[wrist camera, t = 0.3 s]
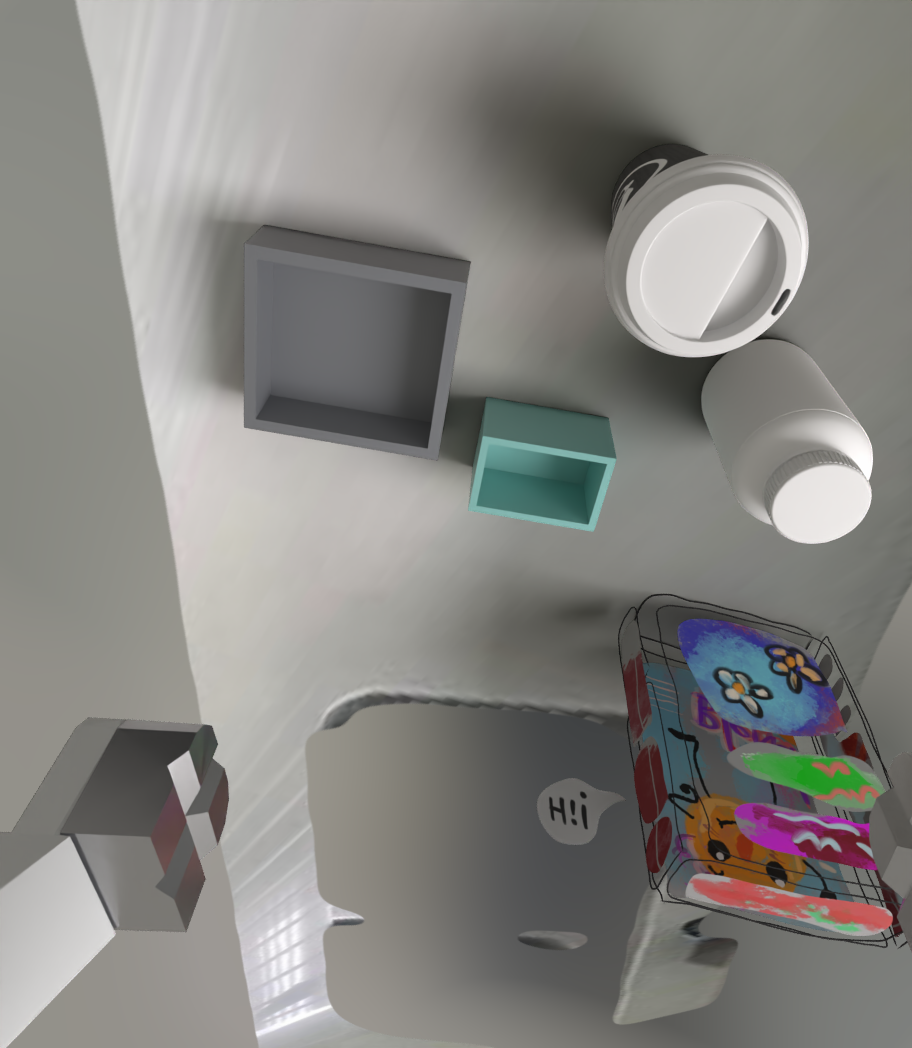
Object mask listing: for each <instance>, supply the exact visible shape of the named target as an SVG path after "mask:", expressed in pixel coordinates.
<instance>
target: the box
mask: <svg viewBox="0 0 912 1048" xmlns="http://www.w3.org/2000/svg"><path fill="white" fill-rule="evenodd" d="M658 595H671V594H657V595H651V596H650V597H652V596H658ZM671 596H675V595H671ZM650 597H648V598H647V599H649V598H650ZM675 597H678V596H675ZM678 598H681V597H678ZM647 599H646V600H647ZM681 599H683V598H681ZM646 600H645V601H646ZM683 600H686V599H683ZM645 601H644V602H645ZM686 601H689V602H695V601H690V600H686ZM644 602H643V603H642V605H643V604H644ZM695 603H702V604H708V603H703V602H695ZM642 605H641V606H642ZM708 605H712V604H708ZM641 606H640V608H641ZM667 606H675V605H667ZM667 606H662V607H660V608H659V609H661V608H663V607H667ZM712 606H716V605H712ZM675 607H683V606H675ZM716 607H719V606H716ZM632 608H635V607H631V608H630V610H631V609H632ZM640 608H639V610H640ZM683 608H691V609H700V608H692V607H683ZM719 608H723V607H719ZM659 609H658V610H657V612H658V611H659ZM723 609H726V610H731V609H727V608H723ZM630 610H629V611H630ZM635 610H636V617H637V623H636V621H635V620H636V617H635V620H633V621H632V622H631V623H630V624H629V625H628V626H627V628H626V630H625V632H624V635H623V638H622V644H621V655H622V662H621V655H620V646H619V635H620V630H621V627H622V624H623V622H624V619H625V618H626V616H627V615H628V613H629V611H628V613H627V614H626V616H625V617H624V619H623V621H622V624H621V627H620V629H619V635H618V646H619V655H620V662H621V668H622V666H623V668H622V674H623V681H624V687H625V693H626V700H627V708H628V715H629V716H628V721H630V727H631V733H632V739H633V745H634V746H636V744H637V743H638V745H639V754H638V758H637V761H636V765H635V768H634V781H635V788H636V794H637V799H638V803H639V813H640V821H641V827H642V833H643V840H644V847H645V853H646V861H647V867H648V873H649V882H650V887H651V889H653V890H655V889H657V890H658V891H659V893H660V895H661V899H662V901H663V897H662V894H661V892H660V890H659V889H658V887H659V885H660V883H661V882H662V880H663V878H664V876H665V875H666V873H667V879H668V880H667V894H668V895H669V896H670V897H671V898H673V899H675V900H678V901H682V902H686V903H682V902H671V901H664V902H668V903H677V904H687V905H691V906H695V907H699V908H703V909H706V910H710V911H715V912H718V913H723V914H726V915H730V916H734V917H738V918H742V919H745V920H749V921H752V922H756V923H759V924H763V925H766V926H769V927H773V928H777V929H781V930H785V931H789V932H793V933H797V934H801V935H807V936H812V937H818V938H822V939H829V940H838V941H846V942H851V943H856V944H863V945H870V946H878V947H882V948H886V947H887V946H888V943H887V940H888V939H890V938H892V937H893V940H894V942H895V944H896V941H895V939H894V936H895V937H896V936H897V937H898V935H900V934H902V933H903V930H902V928H901V925H900V923H899V921H898V918H897V915H898V912H899V909H900V906H901V904H902V901H903V898H902V897H901V896H900V895H899V894H897V893H896V892H895V891H894V890H893V889H892V888H891V887H890V886H888V885H887V884H886V883H885V882H884V881H883V880H882V879H881V877H880V874H879V871H878V869H877V866H876V864H875V861H874V859H873V854H872V850H871V845H870V841H869V816H870V814H871V811H872V808H873V805H874V803H875V800H876V798H877V797H878V796H880V795H882V794H883V793H885V790H884V788H883V786H882V784H881V782H880V780H879V779H878V777H877V776H876V774H875V772H874V770H873V767H872V763H871V761H870V758H869V756H868V753H867V751H866V749H865V747H864V744H863V740H862V737H861V735H860V734H859V733H853V734H852V735H850V736H849V737H848V738H847V739H845V740H843V741H842V742H838V741H837V739H836V738H835V736H834V734H833V733H836V736H837V735H838V734H839V733H840V731H841V730H842V731H844V732H846V733H847V730H846V727H845V725H846V723H847V722H848V720H849V718H850V715H851V710H850V707H849V706H845V707H844V708H843V709H842V710H841V712H840V710H839V707H838V705H837V702H836V701H837V700H838V699H839V697H840V695H841V693H842V690H843V679H844V681H845V683H846V685H847V687H848V689H849V686H848V684H847V682H846V680H845V678H844V676H843V674H842V672H841V670H840V668H839V666H838V664H837V662H836V660H835V657H834V655H833V653H832V652H831V650H830V649H829V647H828V646H827V645H826V644H825V643H823V641H824V640H825V638H826V637H827V638H828V636H826V637H825V638H824V639H823V640H822V641H820V640H818V639H816V638H814V637H811V636H807V635H803V634H798V633H795V632H791V631H788V630H785V629H782V628H779V627H776V626H772V625H768V624H763V623H759V622H753V621H749V620H745V619H741V618H737V617H734V616H730V615H727V614H723V613H719V612H715V611H711V610H706V609H700V610H706V611H711V612H715V613H718V614H722V615H726V616H730V617H734V618H737V619H741V620H745V621H749V622H753V623H758V624H763V625H767V626H771V627H775V628H779V629H782V630H785V631H788V632H791V633H794V634H798V635H802V636H807V637H811V638H814V639H816V640H818V641H820V642H821V644H820V647H821V645H822V643H823V644H824V645H825V646H826V647H827V648H828V649H829V650H830V652H831V654H832V656H833V658H834V660H835V662H836V664H837V666H838V669H839V671H840V673H841V674H842V676H843V678H840V679H839V680H838V681H837V682H836V684H835V685H834V687H833V688H832V689H831V687H830V685H829V683H828V681H827V679H828V678H829V676H830V674H831V672H832V659H831V657H830V655H829V654H826V655H825V656H824V657H823V659H822V660H821V662H820V664H819V667H818V665H817V663H816V662H815V658H816V656H817V654H818V652H819V649H820V647H819V649H818V651H817V654H816V656H815V658H813V656H812V655H811V654H810V653H809V652H808V651H807V649H808V647H809V645H810V643H811V642H810V643H809V645H808V646H807V648H806V649H804V648H803V647H801V646H799V645H797V644H794V643H792V642H790V641H787V640H785V639H783V638H780V637H778V636H776V635H773V634H770V633H768V632H765V631H761V630H758V629H754V628H750V627H747V626H743V625H740V624H736V623H732V622H727V621H720V620H709V619H690V620H686V621H684V622H682V623H681V624H680V625H679V627H678V631H677V635H678V641H679V645H680V648H681V649H680V648H677V647H674V646H672V645H669V644H666V643H662V641H661V632H660V627H659V622H658V615H657V612H656V616H657V623H658V627H659V632H660V642H659V641H656V640H653V639H649V638H646V637H643V636H640V631H639V625H638V616H637V615H638V612H639V610H638V612H637V609H636V608H635ZM731 611H736V612H742V611H737V610H731ZM742 613H745V614H749V613H746V612H742ZM749 615H752V614H749ZM752 616H755V615H752ZM755 617H758V616H755ZM758 618H760V619H763V618H761V617H758ZM763 620H766V619H763ZM766 621H769V620H766ZM769 622H772V621H769ZM772 623H776V624H782V623H777V622H772ZM782 625H787V624H782ZM787 626H791V625H787ZM791 627H795V626H791ZM795 628H797V629H800V628H798V627H795ZM800 630H802V629H800ZM802 631H804V630H802ZM804 632H806V633H808V632H807V631H804ZM808 634H810V633H808ZM810 635H811V634H810ZM641 637H642V638H646V639H649V640H653V641H656V642H659V643H661V646H662V649H663V645H662V644H666V645H669V646H672V647H674V648H677V649H680V650H681V651H682V653H683V656H684V658H685V660H686V662H687V663H684V662H680V661H677V660H673V659H670V658H666V656H665V653H664V649H663V653H664V657H663V656H660V655H657V654H654V653H651V652H649V651H646V650H644V648H643V644H642V640H641ZM640 641H641V645H642V648H643V649H642V648H641V647H640ZM811 641H812V640H811ZM828 641H829V638H828ZM829 643H830V644H831V642H830V641H829ZM831 646H832V644H831ZM832 648H833V646H832ZM641 649H642V650H643V652H644V655H645V651H646V652H648V653H651V654H654V655H657V656H660V657H663V658H665V661H666V664H667V660H666V659H670V660H673V661H677V662H680V663H684V664H688V666H689V668H690V670H691V671H689V670H685V669H681V668H677V667H673V666H668V664H667V665H664V664H659V663H648V661H647V658H646V655H645V658H646V661H647V663H643V662H642V655H641ZM833 650H834V648H833ZM834 653H835V655H836V652H835V650H834ZM836 657H837V655H836ZM837 659H838V657H837ZM838 661H839V659H838ZM839 663H840V661H839ZM840 666H841V668H842V670H843V672H844V669H843V667H842V665H841V663H840ZM844 674H845V672H844ZM845 676H846V674H845ZM846 678H847V676H846ZM847 680H848V678H847ZM848 683H849V685H850V687H851V689H852V686H851V684H850V682H849V680H848ZM852 691H853V689H852ZM849 692H850V694H851V696H852V698H853V695H852V693H851V691H850V689H849ZM853 693H854V691H853ZM854 696H855V698H856V700H857V702H858V704H859V701H858V699H857V697H856V695H855V693H854ZM853 701H854V703H855V705H856V707H857V704H856V702H855V700H854V698H853ZM859 706H860V704H859ZM860 708H861V706H860ZM857 710H858V712H859V714H860V716H861V713H860V711H859V709H858V707H857ZM861 711H862V713H863V710H862V708H861ZM863 715H864V717H865V719H866V716H865V714H864V713H863ZM861 719H862V721H863V718H862V716H861ZM628 721H627V732H628V738H629V731H628ZM866 721H867V719H866ZM867 723H868V721H867ZM863 724H864V727H865V729H866V726H865V723H864V721H863ZM868 726H869V728H870V725H869V723H868ZM870 731H871V734H872V737H873V740H874V743H875V746H876V749H877V751H876V749H875V747H874V745H873V743H872V741H871V738H870V736H869V734H868V731H867V729H866V732H867V734H868V737H869V739H870V742H871V744H872V746H873V748H874V750H875V752H876V754H877V756H878V758H879V760H880V762H881V764H882V767H883V770H884V773H885V776H886V778H887V781H888V783H889V786H890V789H891V785H890V782H889V780H888V777H889V776H888V777H887V775H888V774H887V775H886V773H887V770H886V769H885V767H884V765H883V763H882V761H881V758H880V754H879V751H878V748H877V745H876V742H875V739H874V736H873V733H872V730H871V728H870ZM641 736H643V744H642V746H641V749H640V744H639V739H640V738H641ZM793 736H811V738H812V741H813V744H814V740H813V737H812V736H815V738H816V736H820V739H821V742H822V746H823V749H824V752H825V754H826V757H825V756H824V755H823V753H822V750H821V748H820V746H819V743H818V740H817V738H816V741H817V743H818V746H819V748H820V751H821V753H822V755H823V756H821V755H818V752H817V750H816V747H815V744H814V747H815V750H816V753H817V755H816V754H808V753H800V752H799V751H798V748H797V745H796V743H795V740H794V737H793ZM629 745H630V738H629ZM630 752H631V745H630ZM877 752H878V753H877ZM631 757H632V752H631ZM632 762H633V757H632ZM633 767H634V762H633ZM885 771H886V772H885ZM889 779H890V778H889ZM890 781H891V780H890ZM891 784H892V782H891ZM892 786H893V785H892ZM813 797H815V798H817V799H820V800H822V801H824V802H827V803H829V804H831V805H833V806H835V808H836V807H837V808H839V809H842V810H843V811H844V814H845V817H846V819H847V816H846V813H845V810H846V811H849V813H850V816H851V818H852V820H853V822H851V821H848V819H847V820H845V819H841V818H840V817H839V814H838V811H837V808H836V811H837V814H838V817H839V818H837V817H832V816H827V815H821V814H818V813H817V810H816V807H815V804H814V801H813ZM619 801H626V800H625V799H624V798H623V797H622V796H620V795H619V794H616V793H613V792H606V791H600V790H597V789H595V788H593V787H591V786H590V785H588V784H587V783H584V782H583V781H581V780H579V779H575V778H570V779H566V780H562V781H560V782H557V783H554V784H552V785H551V786H549V787H548V788H546V789H545V790H544V791H543V792H542V793H541V794H540V796H539V798H538V801H537V811H538V815H539V819H540V821H541V823H542V825H543V827H544V828H545V830H546V831H547V832H548V833H549V834H550V835H551V836H552V837H553V838H554V839H555V840H556V841H558V842H561V843H565V844H571V845H580V844H586V843H588V842H590V841H591V839H592V838H593V837H594V836H595V835H596V831H597V826H598V820H599V817H600V815H601V813H602V812H603V811H604V810H605V809H607V808H608V807H609V806H611V805H612V804H614V803H616V802H619ZM641 814H642V817H643V820H644V822H645V823H651V822H652V823H653V821H654V820H655V822H656V825H655V826H654V823H653V829H652V831H651V833H650V836H649V839H648V843H647V849H646V846H645V838H644V832H643V826H642V820H641ZM664 861H665V865H666V870H667V871H666V872H665V874H664V875H663V877H662V879H661V880H660V882H659V884H658V886H657V885H656V883H655V881H654V877H653V873H657V872H659V871H660V869H661V867H662V866H663V864H664ZM838 863H840V864H844V865H849V866H853V868H854V871H855V873H856V870H855V867H857V868H862V869H866V872H867V874H868V876H869V873H868V871H867V869H869V870H875V873H876V875H877V878H878V881H879V884H880V887H879V886H874V884H873V882H872V880H871V878H870V876H869V878H870V881H871V882H872V884H873V885H867V884H861V883H860V882H859V879H858V876H857V873H856V877H857V879H858V882H859V883H855V882H849V881H844V879H843V877H842V874H841V871H840V868H839V865H838ZM649 870H650V871H651V872H652V879H653V882H654V884H655V886H656V888H652V885H651V880H650V872H649ZM845 882H846V883H852V884H858V885H860V887H861V885H864V886H870V887H874V888H875V887H876V888H881V890H882V894H883V897H884V900H881V899H880V896H879V894H878V892H877V890H876V888H875V890H876V892H877V895H878V897H879V899H874V898H869V897H866V896H865V894H864V891H863V889H862V887H861V890H862V892H863V895H864V896H858V895H852V894H850V892H849V890H848V888H847V886H846V883H845ZM668 891H669V892H668ZM669 893H671V894H672V895H673V896H674V897H676V898H674V897H672V895H670V894H669ZM852 896H855V897H861V898H865V899H866V901H867V903H868V900H867V899H871V900H876V901H880V902H881V905H882V902H885V904H886V907H887V909H885V908H884V907H883V905H882V907H878V906H873V905H869V903H868V904H861V903H856V902H854V900H853V898H852ZM677 898H692V899H695V900H699V901H703V902H708V903H713V904H717V905H721V906H726V907H730V908H733V909H737V910H740V911H744V912H747V913H751V914H755V915H759V916H763V917H766V918H770V919H773V920H776V921H780V922H785V923H788V924H792V925H797V926H801V927H806V928H811V929H816V930H822V931H832V932H840V933H843V934H848V935H855V936H868V935H873V934H877V933H880V932H881V933H882V931H884V930H885V929H887V928H888V927H889V929H890V932H891V934H892V936H890V937H889V938H887V939H886V938H885V936H884V934H883V933H882V935H883V937H884V938H885V939H884V940H851V939H834V938H827V937H821V936H815V935H811V934H808V933H805V932H801V931H798V930H794V929H791V928H787V927H783V926H779V925H775V924H771V923H766V922H760V921H754V920H751V919H747V918H744V917H741V916H738V915H734V914H731V913H727V912H724V911H720V910H716V909H712V908H708V907H705V906H702V905H698V904H695V903H691V902H688V901H684V900H680V899H677ZM768 924H769V925H768ZM891 924H892V927H893V931H894V935H893V933H892V931H891V928H890V925H891ZM771 925H773V926H771ZM775 926H777V927H775ZM778 927H781V928H778ZM783 928H786V929H783ZM787 929H789V930H787ZM790 930H794V931H790ZM795 931H797V932H795ZM799 932H800V933H799ZM852 941H867V942H869V941H870V942H881V941H886V946H884V947H883V946H879V945H874V944H864V943H858V942H852ZM906 943H908V942H907V941H906V942H905V943H904V944H902V945H901V946H900V947H902V946H903V945H905V944H906ZM900 947H899V948H900Z"/></svg>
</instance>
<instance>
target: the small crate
mask: <svg viewBox="0 0 912 1048" xmlns="http://www.w3.org/2000/svg"><path fill="white" fill-rule="evenodd" d="M615 462H616V454H615V448H614V443H613V438H612V433H611V428H610V423H609V418H606V417H600V416H594V415H588V414H582V413H577V412H571V411H565V410H559V409H554V408H548V407H542V406H536V405H531V404H525V403H519V402H513V401H508V400H502V399H496V398H490V397H486V401H485V407H484V412H483V417H482V422H481V427H480V432H479V437H478V442H477V448H476V453H475V458H474V463H473V469H472V478H471V488H470V498H469V507H468V511H474V512H480V513H486V514H492V515H498V516H504V517H510V518H516V519H522V520H528V521H533V522H539V523H545V524H551V525H557V526H563V527H569V528H575V529H581V530H587V531H593V532H594V529H595V526H596V523H597V520H598V516H599V513H600V510H601V507H602V504H603V501H604V497H605V494H606V491H607V488H608V485H609V481H610V478H611V475H612V472H613V469H614V466H615Z"/></svg>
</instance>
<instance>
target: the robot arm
mask: <svg viewBox="0 0 912 1048" xmlns="http://www.w3.org/2000/svg"><path fill="white" fill-rule="evenodd" d="M217 745H218V743H217V740H216V737H215V734H214V731H213V728H212V726H210V725H204V724H189V723H174V722H161V721H145V720H131V719H127V720H126V719H109V718H108V719H107V718H90V717H89V718H87V719H86V720H84V721H83V722H82V723H81V724H79V725H78V726H77V727H76V728H75V730H74V731H73V733H72V735H71V736H70V738H69V739H68V741H67V743H66V744H65V746H64V748H63V749H62V751H61V752H60V754H59V756H58V757H57V759H56V761H55V762H54V764H53V765H52V767H51V769H50V770H49V772H48V773H47V775H46V777H45V778H44V780H43V782H42V783H41V785H40V786H39V788H38V790H37V791H36V793H35V795H34V796H33V798H32V799H31V801H30V803H29V804H28V806H27V808H26V809H25V811H24V812H23V814H22V816H21V817H20V819H19V821H18V822H17V824H16V826H15V827H14V829H13V831H12V832H0V1048H6V1047H7V1046H8V1045H9V1044H10V1043H11V1042H12V1041H13V1040H14V1039H15V1038H16V1037H17V1036H18V1035H19V1034H20V1033H21V1032H22V1031H23V1030H24V1029H25V1028H26V1027H27V1025H29V1023H30V1022H31V1021H32V1020H33V1019H34V1018H35V1017H36V1016H37V1015H38V1014H39V1013H40V1012H41V1011H42V1010H43V1009H44V1008H45V1007H46V1006H47V1005H48V1004H49V1003H50V1002H51V1001H52V1000H53V999H54V998H55V997H56V995H58V994H59V992H60V991H61V990H62V989H63V988H64V987H65V986H66V985H67V984H68V983H69V982H70V981H71V980H72V979H73V978H74V977H75V976H76V975H77V974H78V973H79V972H80V971H81V970H82V969H83V968H84V967H85V966H86V965H87V963H89V962H90V961H91V960H92V958H93V957H94V956H95V955H96V954H97V953H98V952H99V951H100V950H101V949H102V948H103V947H104V946H105V945H106V944H107V943H108V942H109V941H110V940H111V939H112V938H113V937H114V936H115V931H114V930H134V931H167V932H168V931H169V932H186V931H187V929H188V926H189V923H190V920H191V918H192V915H193V912H194V909H195V907H196V904H197V901H198V898H199V896H200V893H201V890H202V887H203V885H204V882H205V876H204V872H203V869H202V866H201V863H200V860H201V859H202V858H203V857H205V856H206V855H207V854H208V853H209V852H210V851H211V850H213V849H214V848H215V847H216V846H217V845H218V843H219V840H220V837H221V834H222V831H223V828H224V825H225V820H226V814H227V807H228V801H229V794H228V780H227V776H226V772H225V768H223V767H222V766H221V765H220V764H219V763H217V762H216V761H215V760H214V759H213V755H214V753H215V750H216V748H217ZM887 774H888V776H889V778H890V780H891V782H892V785H893V788H891V789H889V790H888V791H886V792H885V793H883V794H882V795H880V796H878V797H877V798H876V800H875V803H874V805H873V808H872V811H871V814H870V816H869V841H870V845H871V850H872V854H873V859H874V861H875V864H876V866H877V869H878V871H879V874H880V877H881V879H882V880H883V881H884V882H885V883H886V884H887V885H888V886H890V887H891V888H892V889H893V890H894V891H895V892H896V893H897V894H899V895H900V896H901V897H902V898H903V901H902V904H901V906H900V909H899V912H898V915H897V918H898V921H899V923H900V925H901V928H902V930H903V933H904V935H905V937H906V940H907V942H908V945H909V947H910V949H911V952H912V752H902V753H901V754H899V755H898V756H897V757H895V758H894V759H893V761H892V764H891V766H890V768H889V770H888V772H887Z"/></svg>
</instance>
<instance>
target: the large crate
mask: <svg viewBox="0 0 912 1048" xmlns="http://www.w3.org/2000/svg"><path fill="white" fill-rule="evenodd" d="M470 263H471V262H469V261H464V260H458V259H452V258H447V257H441V256H436V255H430V254H425V253H419V252H413V251H408V250H402V249H397V248H391V247H385V246H380V245H374V244H369V243H363V242H357V241H352V240H346V239H341V238H335V237H329V236H324V235H318V234H313V233H307V232H301V231H296V230H290V229H285V228H279V227H274V226H268V225H264V226H263V227H262V228H260V229H259V230H258V231H257V232H256V233H255V234H254V235H253V236H252V237H251V238H250V239H249V240H248V241H247V242H245V243H244V428H250V429H256V430H262V431H268V432H273V433H279V434H285V435H291V436H297V437H303V438H308V439H314V440H320V441H326V442H332V443H338V444H344V445H349V446H355V447H361V448H367V449H373V450H379V451H385V452H390V453H396V454H402V455H408V456H414V457H420V458H426V459H431V460H437V461H438V455H439V450H440V444H441V439H442V433H443V427H444V421H445V415H446V409H447V403H448V397H449V391H450V385H451V379H452V372H453V366H454V360H455V354H456V348H457V342H458V336H459V330H460V324H461V318H462V312H463V306H464V300H465V294H466V287H467V281H468V275H469V269H470Z"/></svg>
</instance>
